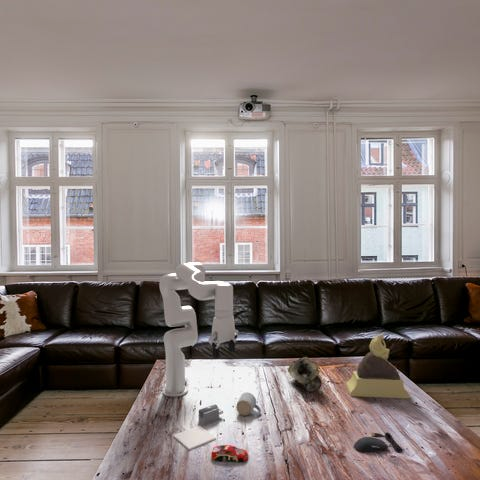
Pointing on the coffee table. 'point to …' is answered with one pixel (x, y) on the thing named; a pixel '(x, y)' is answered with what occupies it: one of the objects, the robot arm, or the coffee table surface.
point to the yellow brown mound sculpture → (376, 375)
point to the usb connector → (209, 414)
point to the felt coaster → (194, 437)
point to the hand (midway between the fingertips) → (224, 354)
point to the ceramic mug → (247, 405)
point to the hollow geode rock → (306, 374)
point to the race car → (229, 453)
